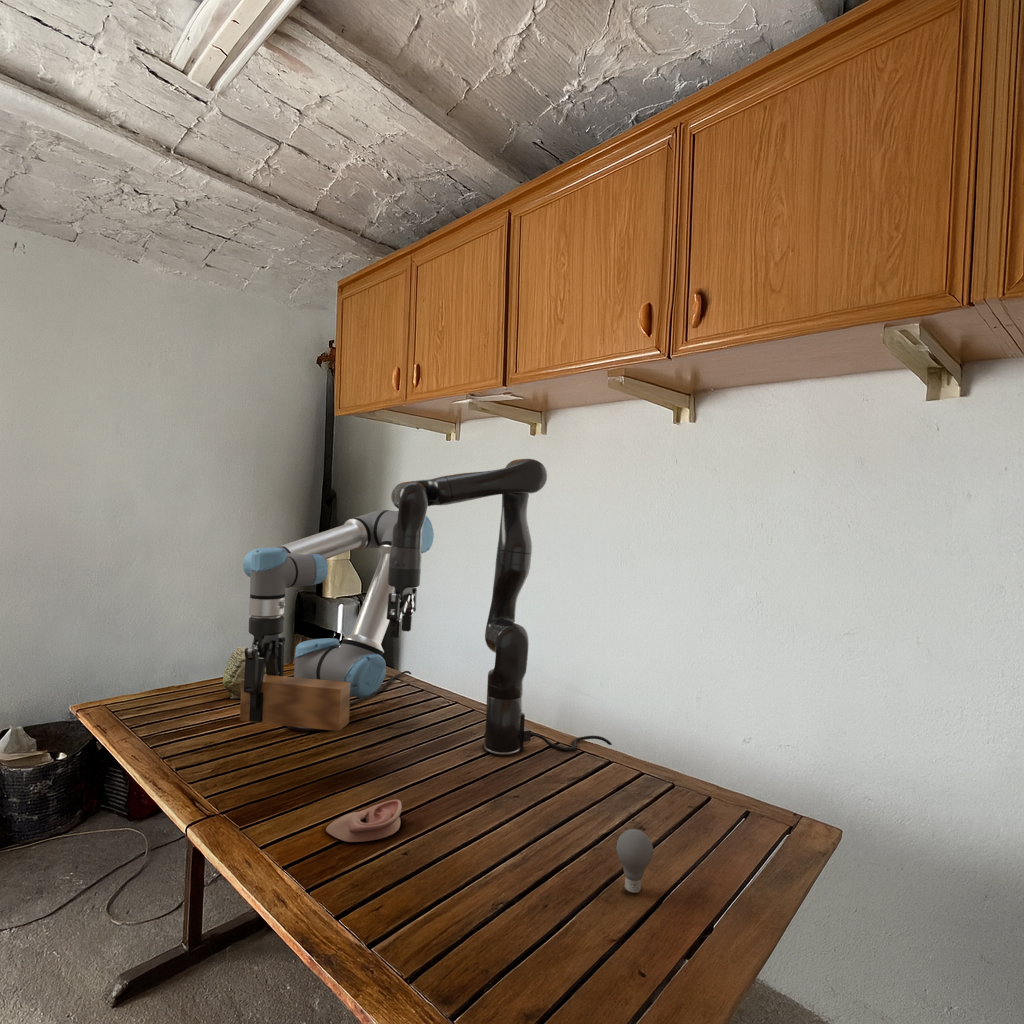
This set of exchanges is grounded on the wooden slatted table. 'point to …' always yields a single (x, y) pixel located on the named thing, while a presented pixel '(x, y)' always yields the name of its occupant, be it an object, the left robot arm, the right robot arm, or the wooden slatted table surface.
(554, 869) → the wooden slatted table surface
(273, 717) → the bar
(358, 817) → the anatomical model
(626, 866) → the light bulb
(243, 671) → the fossil
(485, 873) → the wooden slatted table surface
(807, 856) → the wooden slatted table surface
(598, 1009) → the wooden slatted table surface
